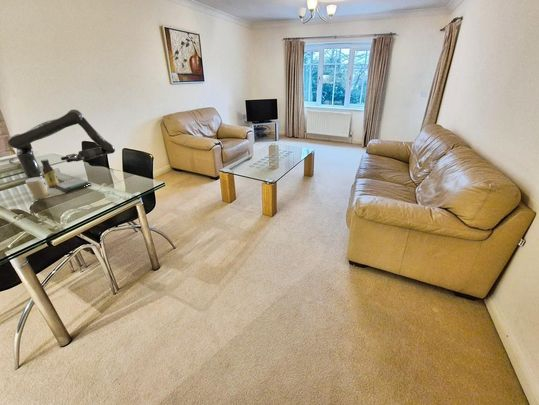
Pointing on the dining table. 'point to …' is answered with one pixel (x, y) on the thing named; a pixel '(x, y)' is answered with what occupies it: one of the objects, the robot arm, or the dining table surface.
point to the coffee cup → (37, 187)
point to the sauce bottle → (49, 174)
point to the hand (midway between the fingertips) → (64, 160)
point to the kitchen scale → (72, 185)
